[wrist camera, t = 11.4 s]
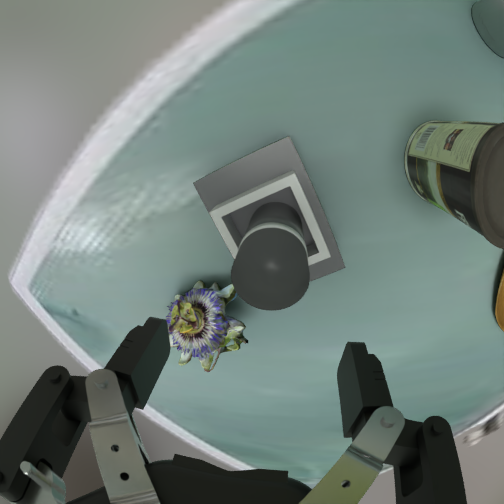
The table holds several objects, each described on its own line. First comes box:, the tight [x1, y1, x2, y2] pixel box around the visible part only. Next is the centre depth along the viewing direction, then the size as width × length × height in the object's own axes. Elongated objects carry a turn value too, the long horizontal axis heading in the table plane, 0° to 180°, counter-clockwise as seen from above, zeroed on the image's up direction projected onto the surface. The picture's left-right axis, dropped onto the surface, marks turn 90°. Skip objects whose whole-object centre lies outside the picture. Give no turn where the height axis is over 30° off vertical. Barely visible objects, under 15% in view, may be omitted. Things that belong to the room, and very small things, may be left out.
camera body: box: [193, 136, 345, 282], centre depth 28 cm, size 10×14×8 cm
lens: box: [231, 202, 310, 310], centre depth 23 cm, size 5×5×10 cm
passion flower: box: [165, 281, 248, 372], centre depth 35 cm, size 11×11×12 cm
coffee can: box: [405, 120, 504, 249], centre depth 20 cm, size 10×10×14 cm
